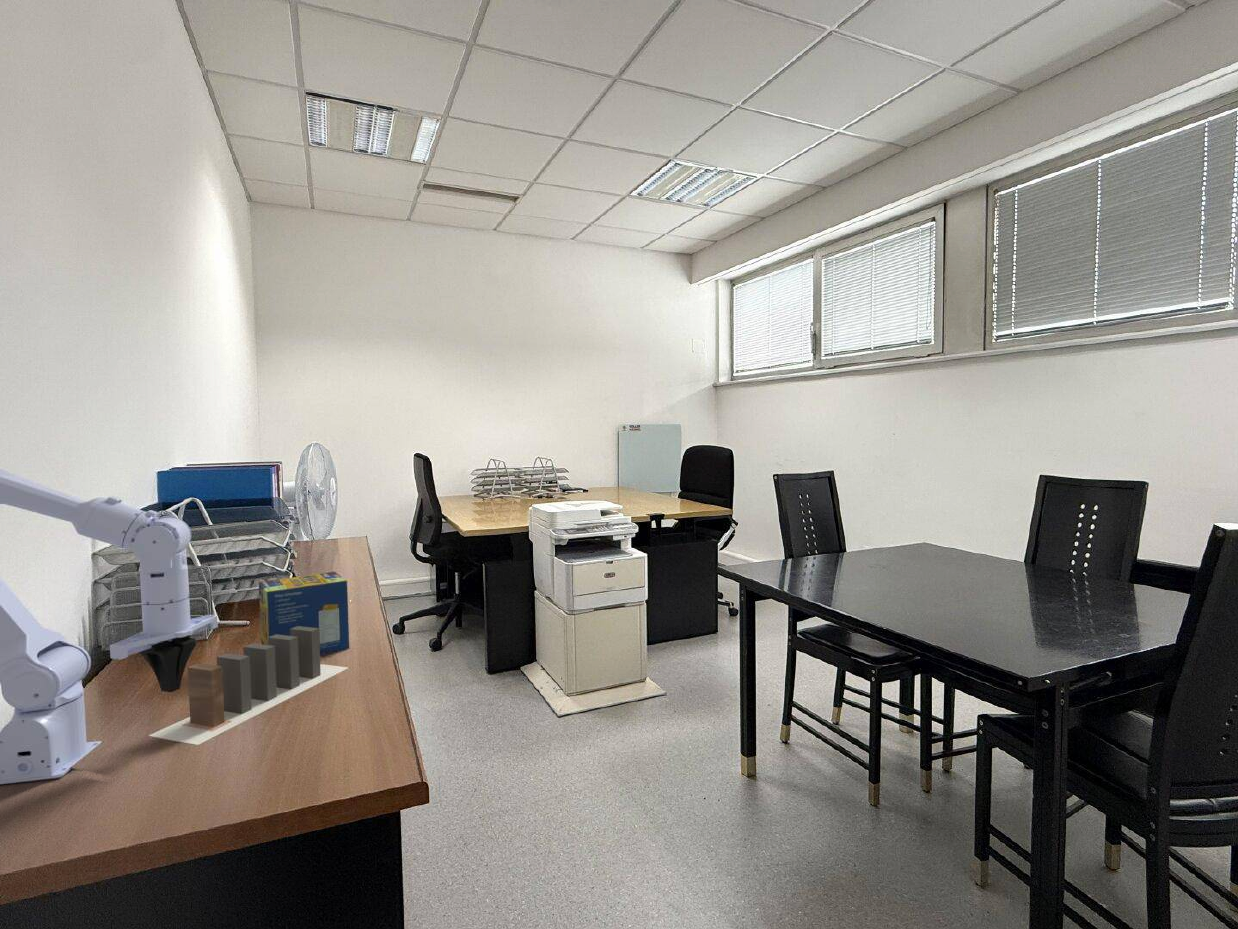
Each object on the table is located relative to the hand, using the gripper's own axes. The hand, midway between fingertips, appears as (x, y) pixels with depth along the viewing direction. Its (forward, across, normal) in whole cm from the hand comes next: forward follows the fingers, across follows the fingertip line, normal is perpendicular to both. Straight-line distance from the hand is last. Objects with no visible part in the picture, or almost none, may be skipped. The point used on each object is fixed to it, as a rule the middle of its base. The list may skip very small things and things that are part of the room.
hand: (170, 690), depth 92 cm
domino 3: (+8, +15, 0) cm, 17 cm away
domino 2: (+8, +10, 0) cm, 13 cm away
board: (+8, +15, 0) cm, 17 cm away
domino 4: (+8, +20, 0) cm, 22 cm away
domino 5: (+8, +25, 0) cm, 27 cm away
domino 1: (+8, +6, 0) cm, 9 cm away
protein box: (+9, +37, +11) cm, 39 cm away
